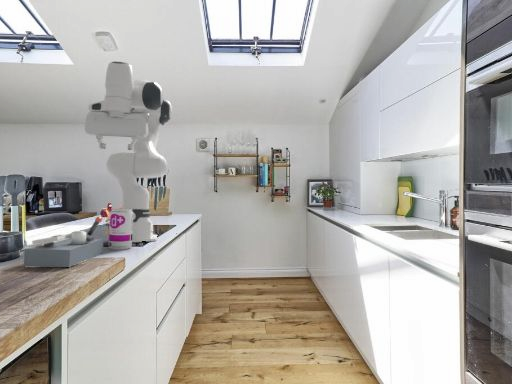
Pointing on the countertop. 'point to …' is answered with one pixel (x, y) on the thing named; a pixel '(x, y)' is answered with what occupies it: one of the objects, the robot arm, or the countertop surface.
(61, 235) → the rocker
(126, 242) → the supplement can
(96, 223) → the lever
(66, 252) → the console
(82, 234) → the button
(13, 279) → the countertop surface
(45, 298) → the countertop surface
